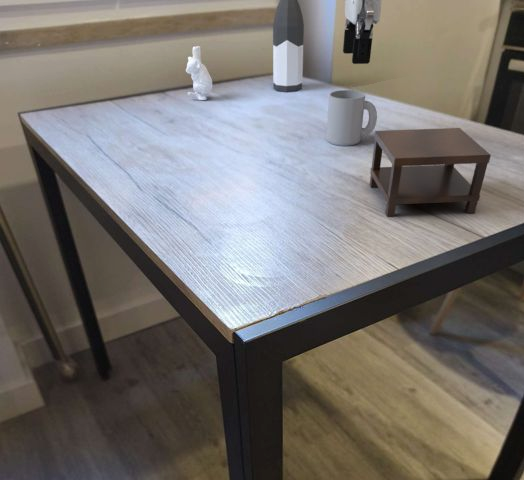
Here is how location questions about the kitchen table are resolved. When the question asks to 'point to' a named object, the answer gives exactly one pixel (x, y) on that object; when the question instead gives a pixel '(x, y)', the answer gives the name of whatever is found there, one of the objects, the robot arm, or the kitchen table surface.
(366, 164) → the kitchen table surface
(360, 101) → the cup
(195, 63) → the white upright figurine
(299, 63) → the wine bottle
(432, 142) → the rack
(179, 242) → the kitchen table surface
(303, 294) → the kitchen table surface
